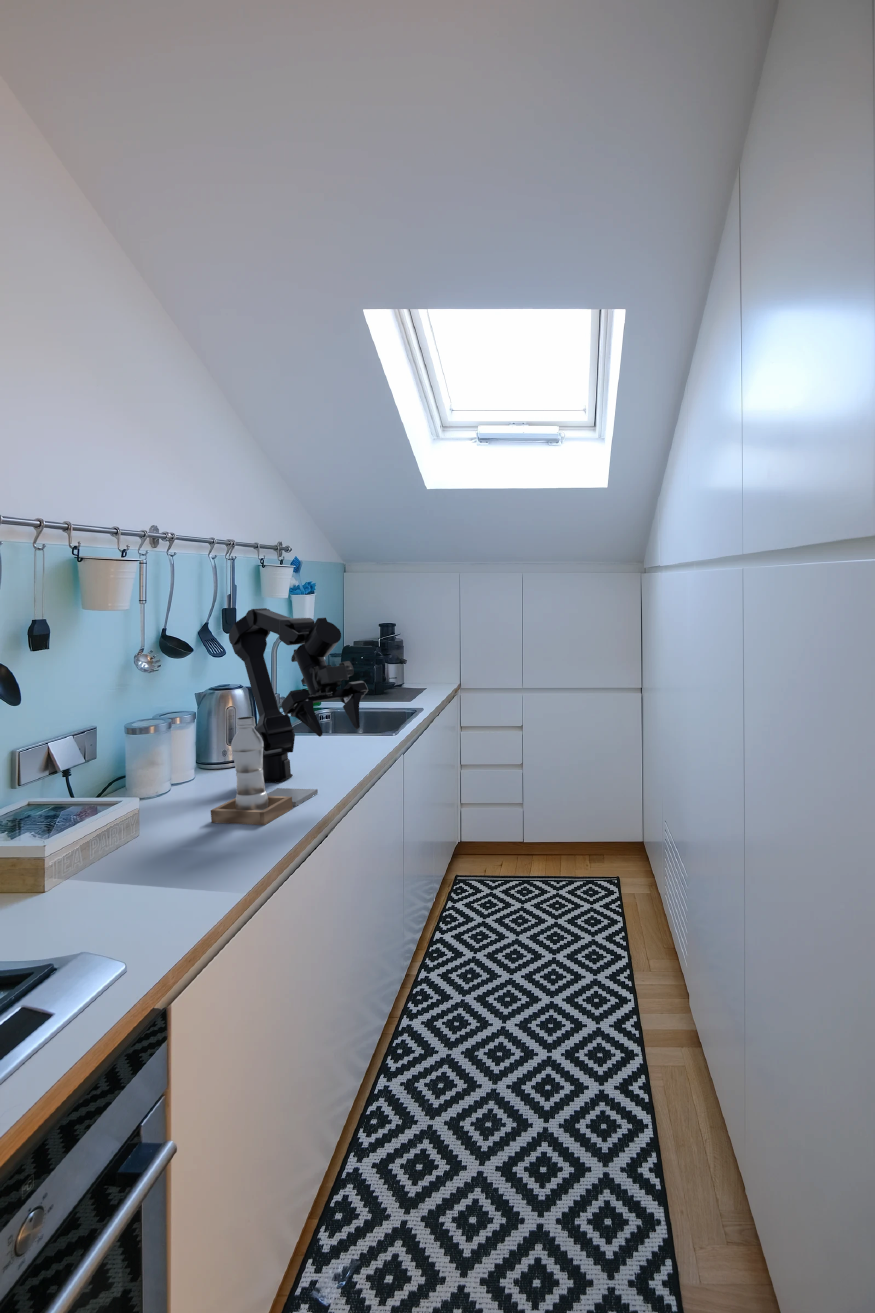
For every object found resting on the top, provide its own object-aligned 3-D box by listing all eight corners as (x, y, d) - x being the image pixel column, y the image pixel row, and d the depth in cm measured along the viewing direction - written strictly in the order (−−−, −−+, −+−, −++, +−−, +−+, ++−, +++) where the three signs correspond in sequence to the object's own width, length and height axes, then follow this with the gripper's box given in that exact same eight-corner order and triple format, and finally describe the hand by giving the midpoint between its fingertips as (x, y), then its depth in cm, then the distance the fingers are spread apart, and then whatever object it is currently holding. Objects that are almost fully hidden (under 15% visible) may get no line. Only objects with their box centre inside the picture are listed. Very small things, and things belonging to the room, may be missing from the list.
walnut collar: (211, 822, 149) (210, 810, 149) (242, 806, 160) (241, 795, 160) (265, 825, 146) (264, 812, 145) (292, 808, 156) (291, 796, 156)
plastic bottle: (273, 810, 156) (266, 714, 154) (263, 820, 149) (255, 720, 147) (243, 811, 156) (235, 715, 155) (231, 821, 150) (223, 721, 148)
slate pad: (254, 805, 161) (253, 800, 160) (277, 792, 170) (277, 788, 170) (296, 806, 157) (295, 801, 157) (317, 793, 167) (317, 789, 167)
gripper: (290, 653, 152) (317, 721, 147) (366, 645, 164) (393, 707, 159) (270, 680, 160) (295, 746, 154) (344, 671, 172) (369, 731, 166)
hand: (339, 732), depth 158 cm, fingers open, 9 cm apart
